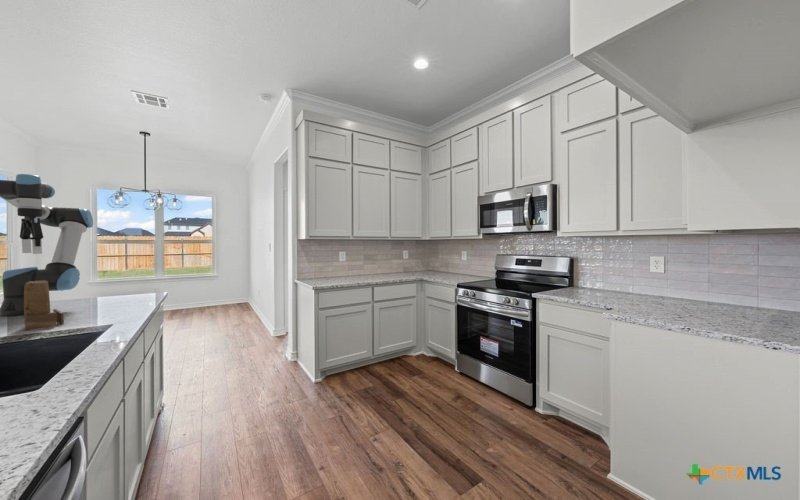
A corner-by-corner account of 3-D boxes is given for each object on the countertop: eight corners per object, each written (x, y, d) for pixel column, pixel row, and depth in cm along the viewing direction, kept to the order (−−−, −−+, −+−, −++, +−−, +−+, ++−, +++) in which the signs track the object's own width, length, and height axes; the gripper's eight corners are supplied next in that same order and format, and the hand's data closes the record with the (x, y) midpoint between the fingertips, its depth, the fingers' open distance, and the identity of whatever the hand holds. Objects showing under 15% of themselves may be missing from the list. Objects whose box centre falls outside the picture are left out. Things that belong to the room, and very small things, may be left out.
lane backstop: (25, 330, 133) (24, 316, 132) (56, 325, 140) (55, 312, 140) (25, 330, 132) (25, 316, 132) (57, 325, 139) (56, 312, 139)
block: (50, 326, 138) (48, 281, 137) (23, 330, 133) (21, 283, 132) (52, 321, 146) (50, 279, 145) (27, 324, 141) (25, 280, 140)
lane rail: (53, 319, 149) (53, 309, 149) (56, 319, 150) (55, 309, 150) (61, 324, 142) (60, 313, 142) (63, 323, 142) (63, 313, 142)
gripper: (8, 208, 149) (10, 252, 150) (27, 206, 138) (29, 254, 139) (32, 209, 156) (34, 252, 157) (51, 207, 144) (53, 253, 145)
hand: (32, 253), depth 148 cm, fingers open, 13 cm apart
